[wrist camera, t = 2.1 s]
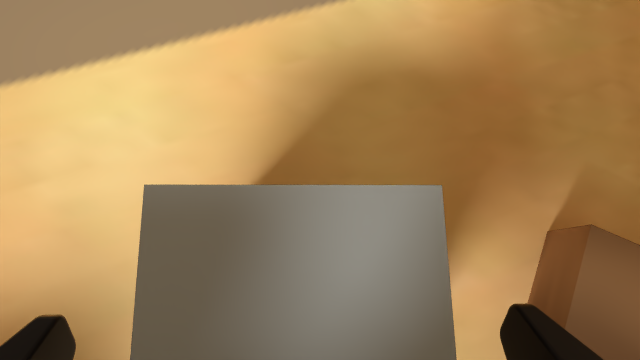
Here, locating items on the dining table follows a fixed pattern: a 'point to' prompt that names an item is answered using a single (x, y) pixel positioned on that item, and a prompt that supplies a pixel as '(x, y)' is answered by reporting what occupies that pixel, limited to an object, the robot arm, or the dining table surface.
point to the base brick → (592, 289)
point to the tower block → (293, 273)
